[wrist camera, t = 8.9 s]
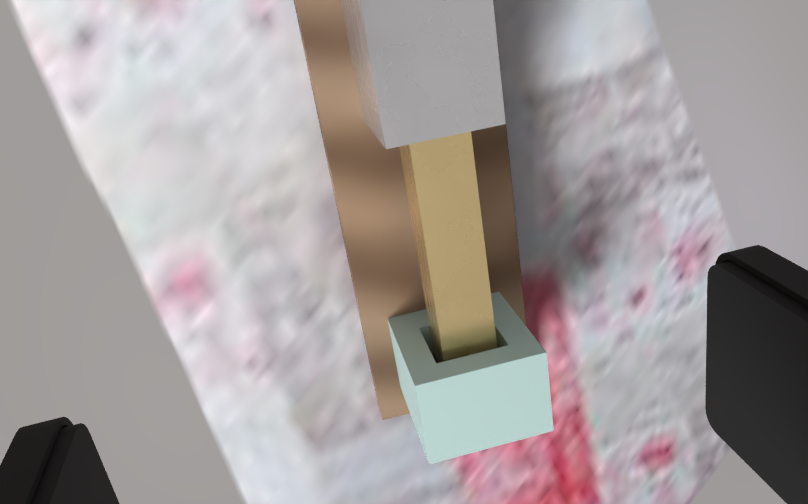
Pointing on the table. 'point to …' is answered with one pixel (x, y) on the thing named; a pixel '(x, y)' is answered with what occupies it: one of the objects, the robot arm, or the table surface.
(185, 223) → the table surface
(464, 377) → the sage socket block
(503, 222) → the walnut base board
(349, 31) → the steel sleeve
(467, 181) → the brass inner tube
